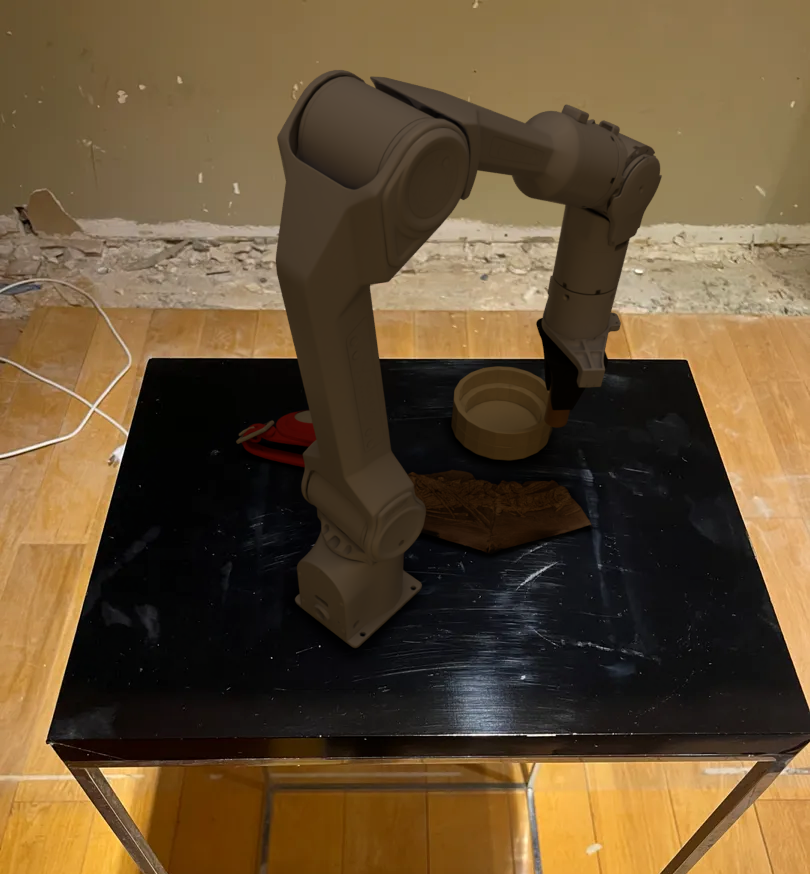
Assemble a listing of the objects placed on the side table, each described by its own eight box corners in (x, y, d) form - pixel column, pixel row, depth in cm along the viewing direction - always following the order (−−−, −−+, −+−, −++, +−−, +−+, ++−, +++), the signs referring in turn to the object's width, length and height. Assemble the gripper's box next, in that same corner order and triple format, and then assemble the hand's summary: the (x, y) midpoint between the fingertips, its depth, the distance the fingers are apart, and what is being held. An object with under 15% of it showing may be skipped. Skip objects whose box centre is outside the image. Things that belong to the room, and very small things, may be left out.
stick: (558, 431, 83) (575, 358, 76) (539, 420, 84) (553, 347, 77) (571, 419, 84) (589, 346, 77) (552, 408, 85) (567, 336, 78)
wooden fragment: (589, 486, 88) (591, 479, 87) (593, 567, 81) (595, 560, 80) (349, 464, 89) (349, 457, 88) (332, 542, 82) (332, 535, 81)
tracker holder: (318, 394, 95) (375, 421, 88) (319, 430, 97) (374, 458, 91) (226, 419, 87) (281, 450, 81) (230, 457, 90) (283, 490, 83)
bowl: (511, 479, 88) (516, 448, 85) (431, 431, 93) (433, 400, 89) (569, 427, 94) (576, 396, 91) (490, 384, 99) (495, 353, 95)
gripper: (653, 325, 67) (616, 447, 78) (611, 232, 77) (583, 352, 87) (568, 327, 67) (542, 449, 77) (536, 233, 76) (517, 353, 86)
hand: (559, 398), depth 82 cm, fingers closed on stick, 2 cm apart
